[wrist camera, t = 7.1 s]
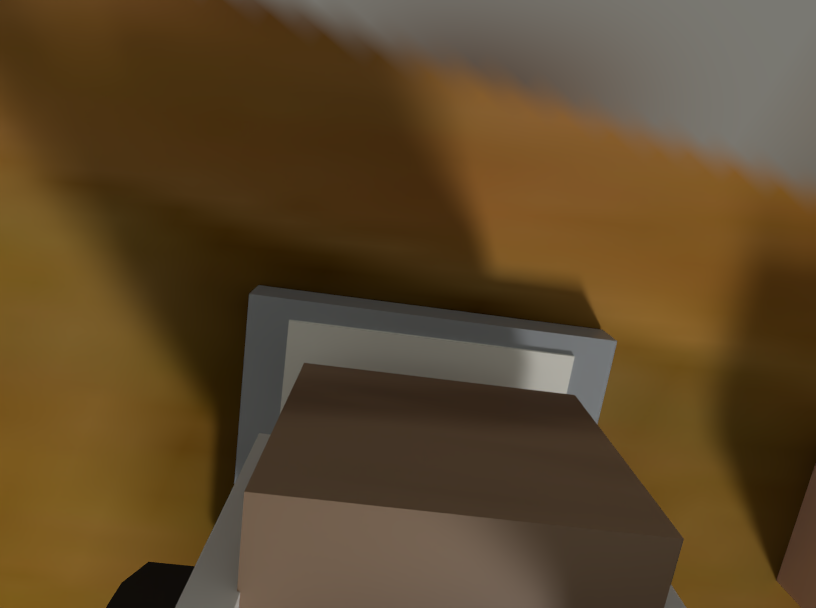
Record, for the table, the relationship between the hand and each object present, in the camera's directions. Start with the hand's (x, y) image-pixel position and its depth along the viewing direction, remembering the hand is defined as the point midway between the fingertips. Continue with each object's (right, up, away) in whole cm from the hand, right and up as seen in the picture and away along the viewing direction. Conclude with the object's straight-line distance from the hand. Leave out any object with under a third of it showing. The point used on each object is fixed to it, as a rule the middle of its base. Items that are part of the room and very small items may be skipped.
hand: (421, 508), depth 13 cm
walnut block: (0, 0, 0) cm, 0 cm away
